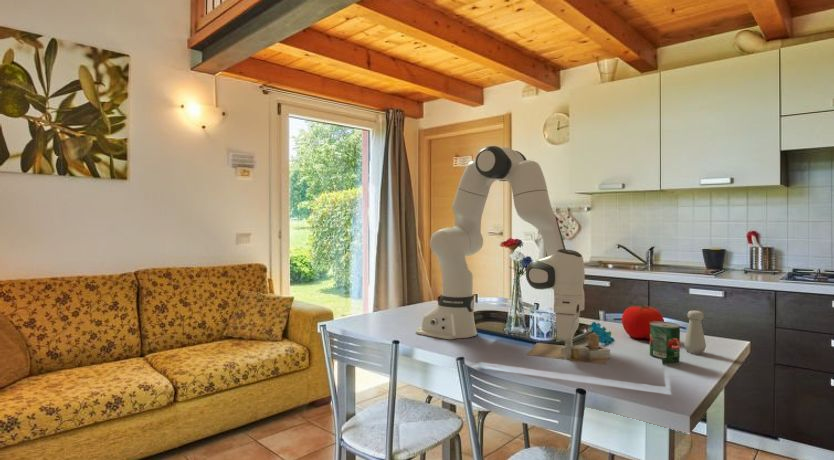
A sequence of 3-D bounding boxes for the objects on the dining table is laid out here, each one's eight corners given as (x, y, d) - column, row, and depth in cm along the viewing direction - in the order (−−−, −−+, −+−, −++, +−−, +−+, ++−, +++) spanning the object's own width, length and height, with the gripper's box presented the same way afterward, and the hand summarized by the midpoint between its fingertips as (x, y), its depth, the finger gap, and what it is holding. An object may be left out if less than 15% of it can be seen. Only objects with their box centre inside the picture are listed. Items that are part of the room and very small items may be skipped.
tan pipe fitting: (569, 361, 134) (569, 350, 134) (558, 354, 140) (558, 344, 140) (609, 358, 137) (610, 347, 137) (596, 352, 143) (597, 342, 143)
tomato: (640, 331, 174) (640, 300, 174) (672, 340, 162) (672, 306, 161) (613, 335, 170) (613, 302, 169) (644, 344, 157) (644, 309, 157)
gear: (607, 346, 149) (588, 320, 154) (594, 357, 151) (575, 331, 157) (623, 345, 156) (603, 320, 162) (609, 355, 159) (591, 330, 164)
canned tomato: (648, 356, 144) (648, 320, 144) (677, 358, 141) (678, 322, 141) (650, 363, 137) (650, 325, 136) (681, 366, 134) (681, 328, 133)
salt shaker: (704, 356, 143) (705, 313, 143) (683, 353, 147) (683, 311, 147) (706, 351, 148) (707, 310, 148) (686, 348, 152) (686, 308, 151)
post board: (526, 359, 141) (526, 334, 140) (536, 347, 154) (536, 324, 154) (605, 369, 131) (605, 343, 131) (609, 355, 144) (609, 331, 144)
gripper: (563, 297, 154) (563, 339, 154) (552, 307, 136) (552, 355, 136) (584, 298, 151) (583, 341, 152) (575, 309, 133) (574, 358, 133)
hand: (568, 348), depth 144 cm, fingers closed
